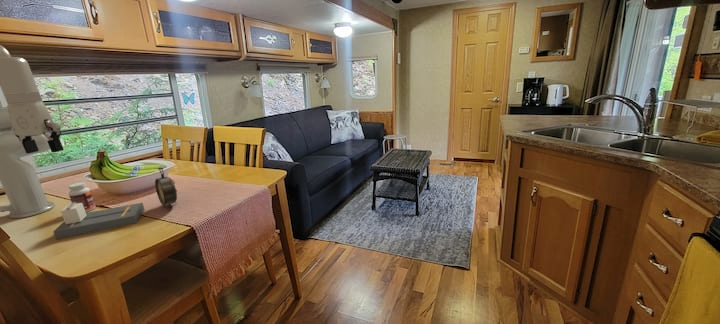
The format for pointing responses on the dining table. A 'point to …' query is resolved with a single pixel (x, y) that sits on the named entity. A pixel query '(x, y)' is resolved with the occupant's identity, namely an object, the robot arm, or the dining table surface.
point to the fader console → (101, 221)
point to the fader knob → (73, 213)
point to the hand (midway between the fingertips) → (45, 151)
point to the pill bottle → (82, 195)
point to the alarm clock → (166, 190)
